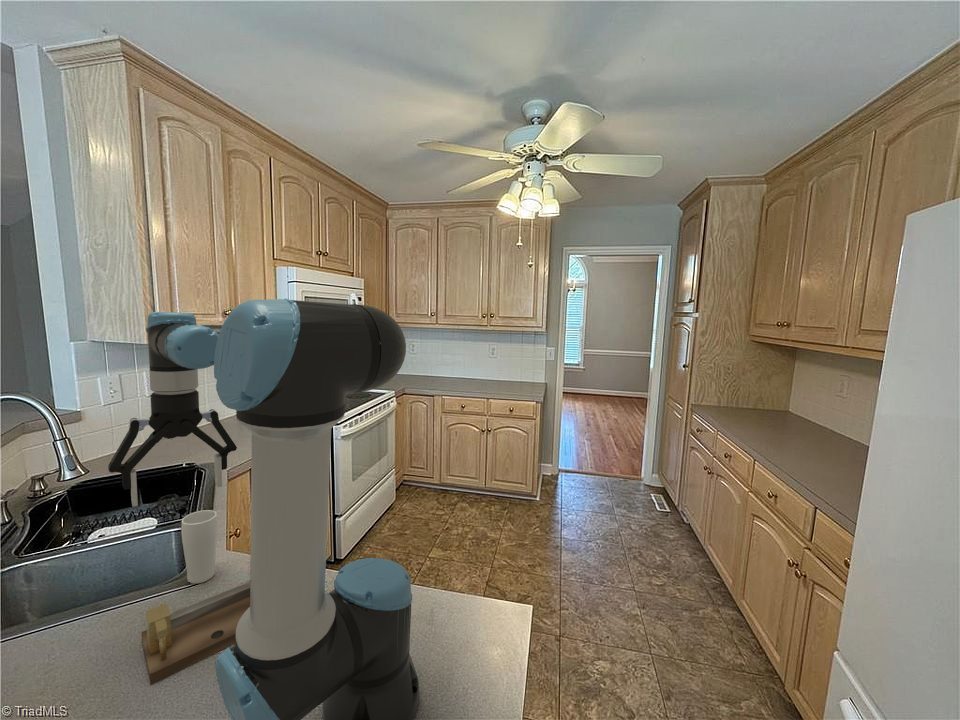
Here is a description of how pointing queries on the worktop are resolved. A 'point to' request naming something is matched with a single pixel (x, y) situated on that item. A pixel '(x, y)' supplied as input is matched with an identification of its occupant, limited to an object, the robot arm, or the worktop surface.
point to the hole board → (199, 632)
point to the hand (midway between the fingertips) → (179, 493)
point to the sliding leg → (158, 630)
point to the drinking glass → (199, 545)
